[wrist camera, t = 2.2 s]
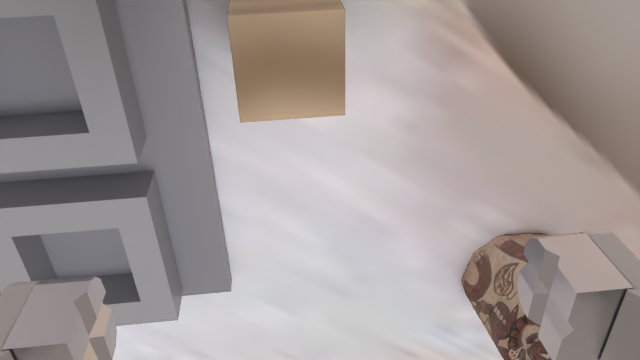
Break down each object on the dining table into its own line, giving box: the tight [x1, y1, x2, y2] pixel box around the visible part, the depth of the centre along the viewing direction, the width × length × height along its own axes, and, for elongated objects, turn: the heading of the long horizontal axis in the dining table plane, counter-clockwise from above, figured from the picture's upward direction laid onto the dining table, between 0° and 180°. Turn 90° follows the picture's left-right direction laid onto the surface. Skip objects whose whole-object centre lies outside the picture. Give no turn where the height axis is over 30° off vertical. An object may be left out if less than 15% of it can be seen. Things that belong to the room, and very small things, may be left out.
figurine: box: [462, 233, 552, 360], centre depth 32 cm, size 7×7×12 cm
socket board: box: [0, 0, 232, 326], centre depth 26 cm, size 21×19×6 cm
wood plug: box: [227, 0, 345, 123], centre depth 22 cm, size 4×4×8 cm
